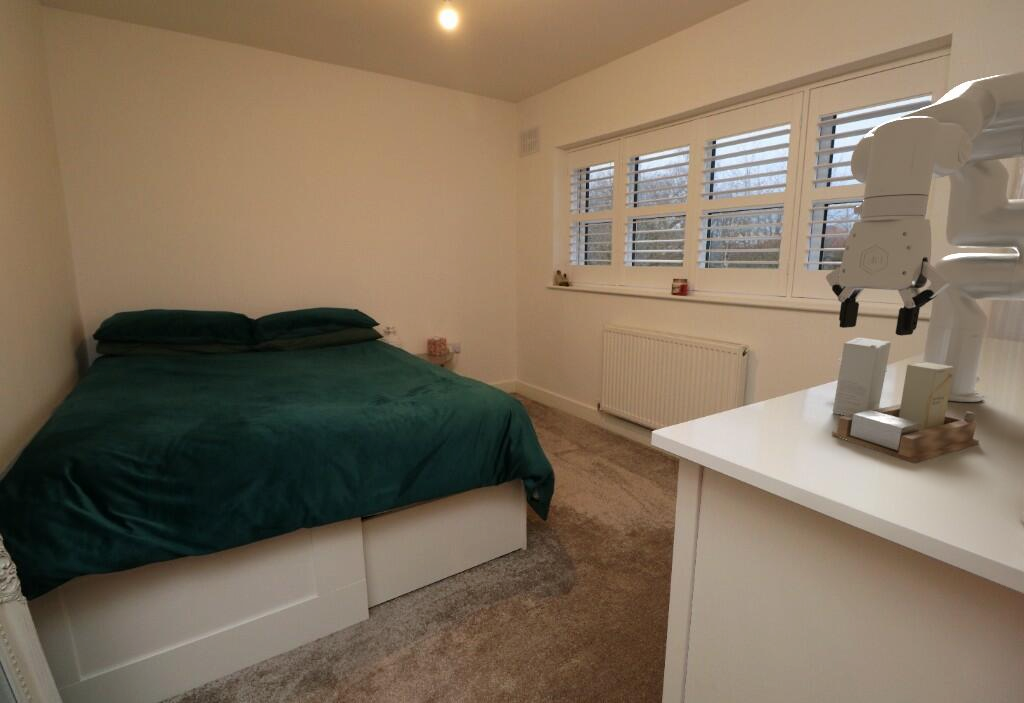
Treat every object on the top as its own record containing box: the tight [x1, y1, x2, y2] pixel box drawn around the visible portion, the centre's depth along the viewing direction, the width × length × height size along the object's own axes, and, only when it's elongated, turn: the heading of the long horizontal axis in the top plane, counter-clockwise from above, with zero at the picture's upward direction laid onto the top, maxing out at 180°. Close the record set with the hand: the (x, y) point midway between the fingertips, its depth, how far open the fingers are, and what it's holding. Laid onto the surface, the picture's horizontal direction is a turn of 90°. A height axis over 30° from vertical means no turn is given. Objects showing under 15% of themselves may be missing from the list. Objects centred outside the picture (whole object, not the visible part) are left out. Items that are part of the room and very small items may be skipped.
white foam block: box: [850, 410, 920, 450], centre depth 81 cm, size 5×7×4 cm
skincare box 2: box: [899, 361, 954, 431], centre depth 84 cm, size 6×4×12 cm
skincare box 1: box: [832, 337, 892, 416], centre depth 96 cm, size 8×6×15 cm
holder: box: [831, 403, 980, 464], centre depth 83 cm, size 19×13×5 cm, turn 115°
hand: (874, 329), depth 74 cm, fingers open, 7 cm apart
